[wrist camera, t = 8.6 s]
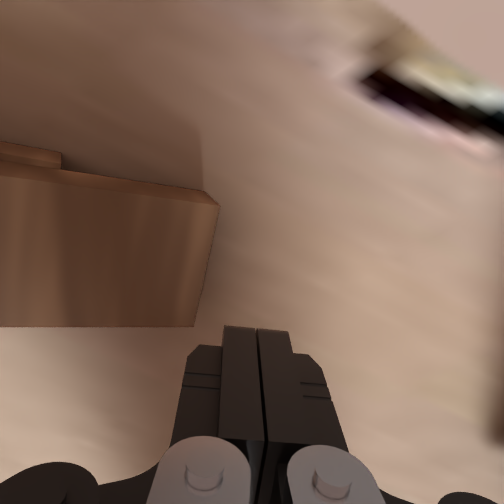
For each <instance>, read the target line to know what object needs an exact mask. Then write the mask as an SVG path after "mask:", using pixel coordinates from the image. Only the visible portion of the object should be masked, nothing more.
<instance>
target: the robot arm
mask: <svg viewBox="0 0 504 504" xmlns="http://www.w3.org/2000/svg"><path fill="white" fill-rule="evenodd" d="M0 504H414V503H411V502H408V501H405V500H402V499H399V498H397V497H394V496H392V495H390V494H388V493H386V492H384V491H382V490H381V489H379V488H378V485H377V483H376V481H375V479H374V477H373V475H372V474H371V472H370V471H369V470H368V468H367V467H366V466H365V465H364V464H363V463H362V462H361V461H360V460H358V459H357V458H356V457H355V456H353V455H351V454H350V453H349V451H348V448H347V445H346V442H345V438H344V435H343V432H342V429H341V426H340V423H339V420H338V417H337V414H336V411H335V408H334V405H333V402H332V401H331V395H330V392H329V389H328V388H327V383H326V380H325V377H324V374H323V371H322V368H321V367H320V366H319V365H318V364H317V363H316V362H315V361H314V360H313V359H312V358H311V357H310V356H309V355H307V354H296V353H293V351H292V346H291V342H290V338H289V334H288V332H287V331H278V330H268V329H258V328H257V329H256V333H255V328H246V327H236V326H226V325H224V330H223V338H222V346H221V347H220V346H210V345H198V346H197V347H196V349H195V350H194V351H193V352H192V353H191V354H190V355H189V356H188V357H187V362H186V367H185V373H184V378H183V383H182V389H181V393H180V398H179V403H178V408H177V413H176V419H175V424H174V429H173V434H172V439H171V443H170V446H169V449H168V450H167V451H166V452H165V453H164V455H163V456H162V458H161V460H160V461H159V462H158V463H157V464H156V465H155V466H154V467H152V468H151V469H149V470H148V471H146V472H144V473H142V474H140V475H138V476H135V477H132V478H129V479H125V480H121V481H116V482H111V483H107V484H102V485H98V483H97V481H96V479H95V478H94V476H93V475H92V474H91V473H90V472H89V471H87V470H86V469H85V468H83V467H81V466H79V465H76V464H72V463H67V462H50V463H44V464H40V465H36V466H33V467H30V468H28V469H25V470H23V471H21V472H19V473H17V474H15V475H14V476H12V477H10V478H9V479H7V480H5V481H4V482H2V483H0ZM438 504H497V503H495V502H493V501H491V500H490V499H487V498H485V497H482V496H479V495H476V494H473V493H467V492H454V493H450V494H447V495H445V496H444V497H443V498H441V500H440V501H439V503H438Z"/></svg>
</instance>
